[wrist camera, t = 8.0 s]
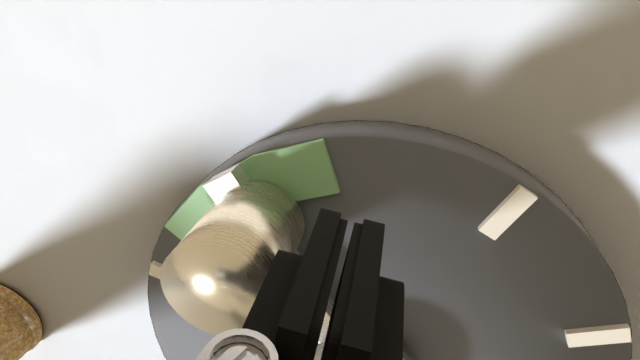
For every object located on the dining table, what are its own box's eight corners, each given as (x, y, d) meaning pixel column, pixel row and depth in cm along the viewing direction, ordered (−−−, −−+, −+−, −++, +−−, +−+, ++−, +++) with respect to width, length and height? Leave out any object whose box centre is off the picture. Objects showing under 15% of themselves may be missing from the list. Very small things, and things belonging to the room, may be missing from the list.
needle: (440, 394, 16) (446, 500, 13) (339, 414, 18) (321, 512, 14) (282, 140, 13) (237, 198, 10) (176, 195, 14) (108, 259, 11)
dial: (728, 196, 13) (769, 227, 11) (505, 506, 21) (512, 547, 20) (165, 67, 15) (136, 78, 13) (167, 399, 23) (149, 429, 22)
